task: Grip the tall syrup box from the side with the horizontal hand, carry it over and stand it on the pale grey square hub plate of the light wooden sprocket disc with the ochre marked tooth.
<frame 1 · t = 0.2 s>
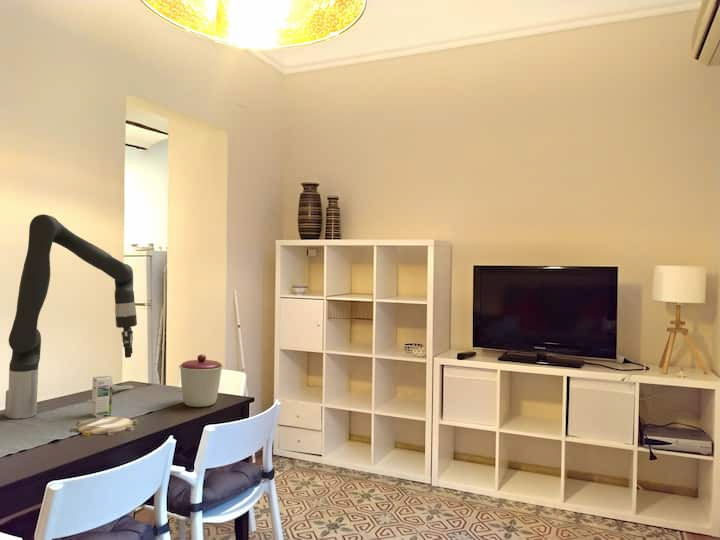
hand: (128, 355, 216), 22 cm above the table, tool pointing down, fingers open, 8 cm apart
sprocket: (105, 426, 197), on the table
caliper: (119, 393, 248), on the table
canister: (199, 404, 233), on the table
syrup box: (101, 415, 211), on the table
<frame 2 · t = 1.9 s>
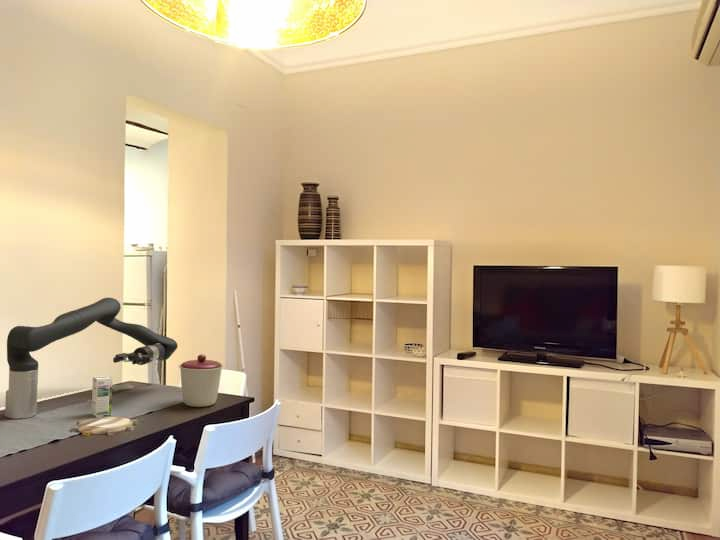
hand: (123, 360, 224), 19 cm above the table, tool horizontal, fingers open, 8 cm apart
nothing on the table moved.
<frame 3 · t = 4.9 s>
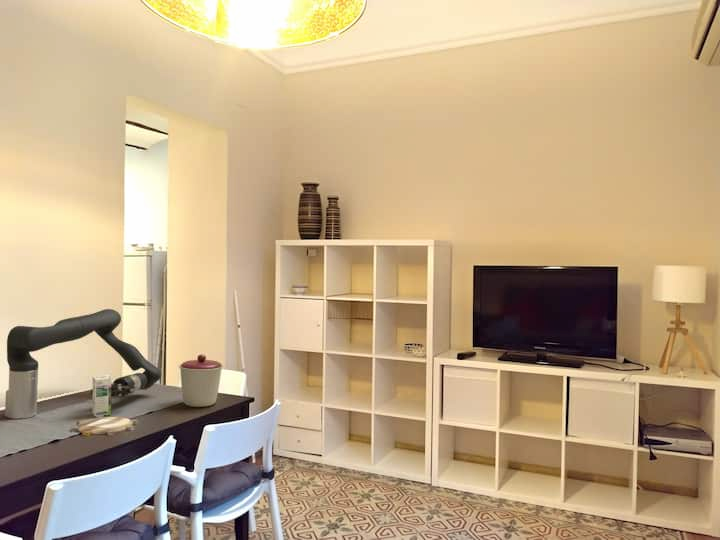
hand: (101, 393, 211), 8 cm above the table, tool horizontal, fingers open, 8 cm apart
syrup box: (101, 414, 211), on the table, touching gripper
everything else where it was.
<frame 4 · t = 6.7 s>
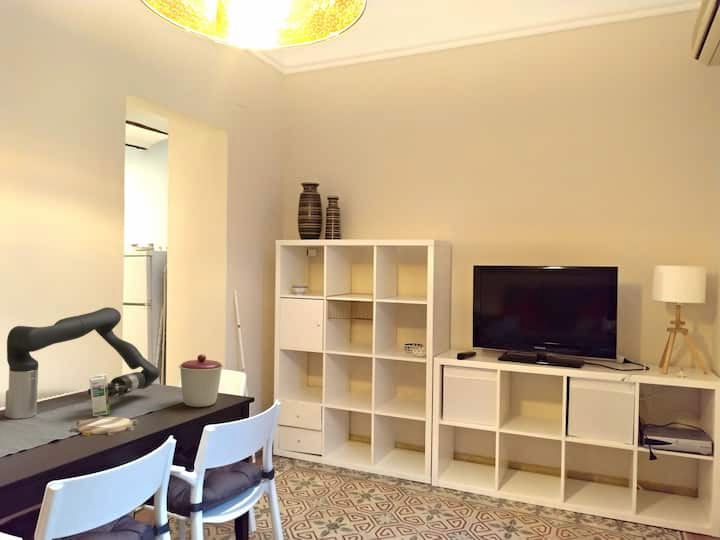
hand: (98, 393, 209), 9 cm above the table, tool horizontal, fingers closed on syrup box, 8 cm apart
syrup box: (101, 413, 211), point 1 cm above the table, touching gripper
everything else where it was.
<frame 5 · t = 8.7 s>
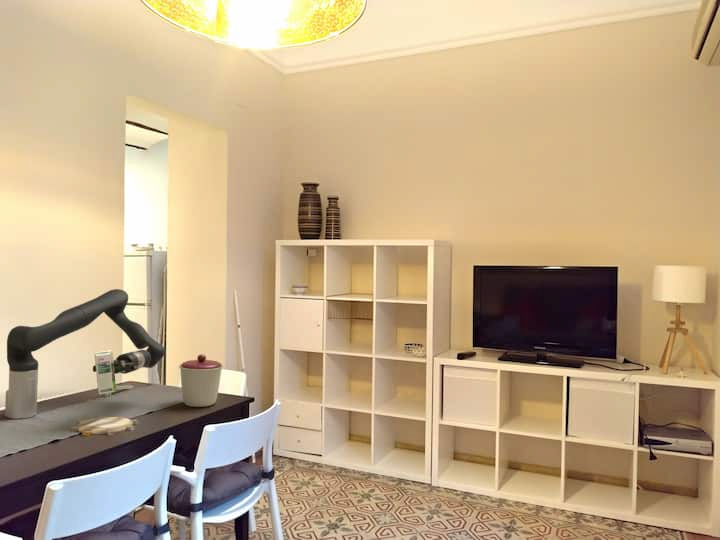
hand: (104, 369, 199), 20 cm above the table, tool horizontal, fingers closed on syrup box, 8 cm apart
syrup box: (107, 391, 201), point 12 cm above the table, touching gripper
everything else where it was.
when the fingers open (10 cm above the table, at t = 12.2 s): syrup box stays where it is, resting on sprocket.
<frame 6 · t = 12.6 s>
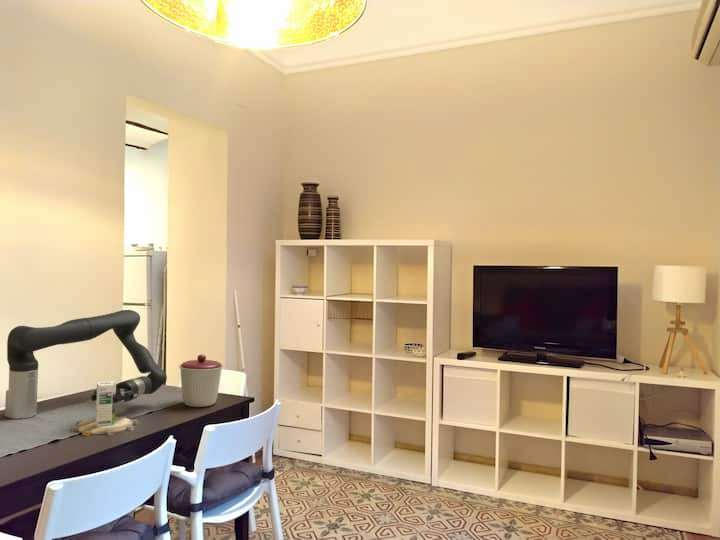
hand: (102, 399, 195), 10 cm above the table, tool horizontal, fingers open, 8 cm apart
syrup box: (104, 424, 196), point 1 cm above the table, touching gripper, sprocket
everything else where it was.
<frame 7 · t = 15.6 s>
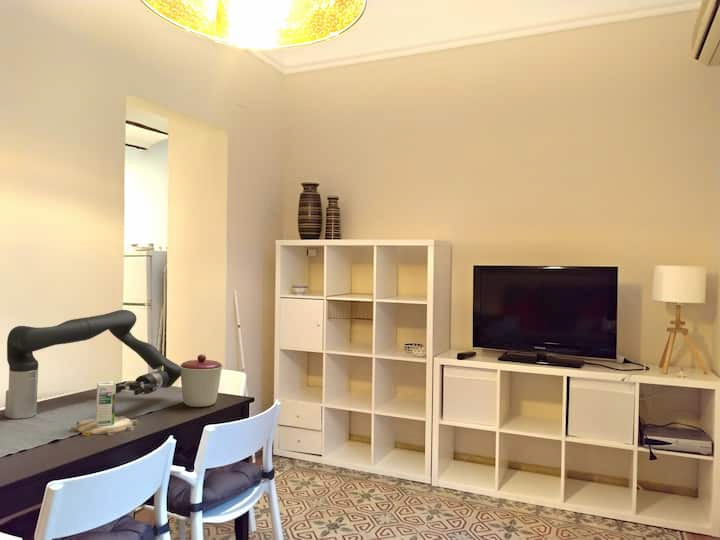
hand: (124, 391, 207), 10 cm above the table, tool horizontal, fingers open, 8 cm apart
syrup box: (104, 424, 197), point 1 cm above the table, touching sprocket
everything else where it was.
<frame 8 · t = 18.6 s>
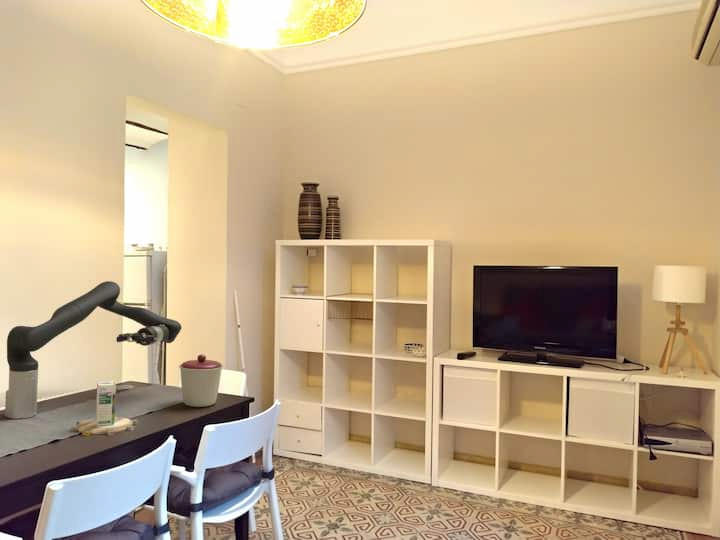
hand: (127, 340, 217), 28 cm above the table, tool horizontal, fingers open, 8 cm apart
nothing on the table moved.
at the end: syrup box 0.2 cm off-centre on the sprocket, point 1.0 cm above the sprocket's base; syrup box tilted 0°; the gripper is holding nothing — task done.
